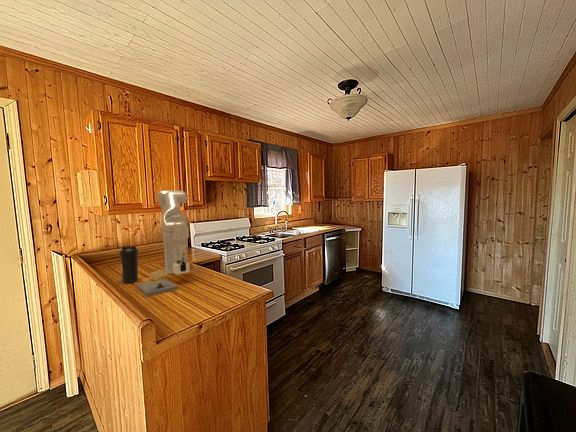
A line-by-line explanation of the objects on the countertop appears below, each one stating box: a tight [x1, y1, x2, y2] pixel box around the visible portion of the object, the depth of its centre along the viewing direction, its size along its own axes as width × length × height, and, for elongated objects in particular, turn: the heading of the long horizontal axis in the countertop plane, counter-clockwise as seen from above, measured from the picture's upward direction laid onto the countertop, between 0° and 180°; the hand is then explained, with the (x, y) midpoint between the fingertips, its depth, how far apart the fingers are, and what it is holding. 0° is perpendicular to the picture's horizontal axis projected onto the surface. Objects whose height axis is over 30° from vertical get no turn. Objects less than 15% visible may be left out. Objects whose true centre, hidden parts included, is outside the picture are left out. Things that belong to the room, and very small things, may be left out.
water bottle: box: [118, 245, 139, 285], centre depth 164 cm, size 10×10×23 cm
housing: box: [137, 278, 179, 297], centre depth 151 cm, size 16×20×2 cm
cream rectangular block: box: [172, 261, 191, 276], centre depth 162 cm, size 8×6×6 cm
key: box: [141, 268, 169, 287], centre depth 145 cm, size 2×14×9 cm, turn 151°
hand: (181, 270), depth 162 cm, fingers closed on cream rectangular block, 6 cm apart
